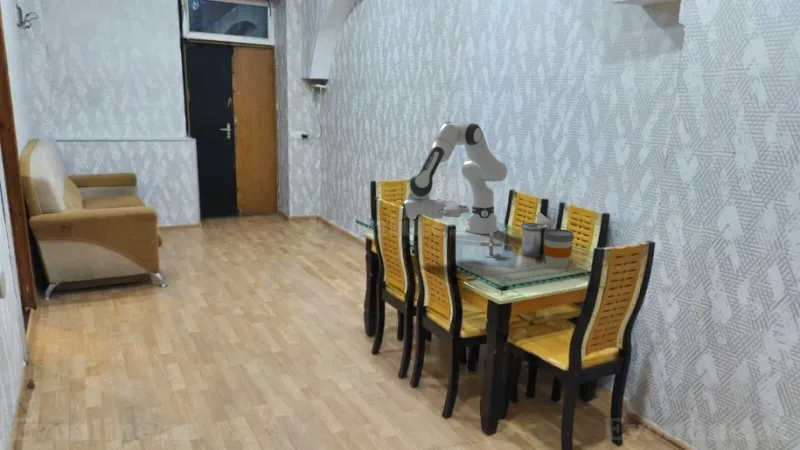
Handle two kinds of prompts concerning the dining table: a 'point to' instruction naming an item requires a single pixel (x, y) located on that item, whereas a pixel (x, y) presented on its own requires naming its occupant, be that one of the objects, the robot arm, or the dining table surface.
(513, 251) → the dining table surface
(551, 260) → the reusable coffee cup
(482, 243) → the pipe connector
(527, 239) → the duct stub
